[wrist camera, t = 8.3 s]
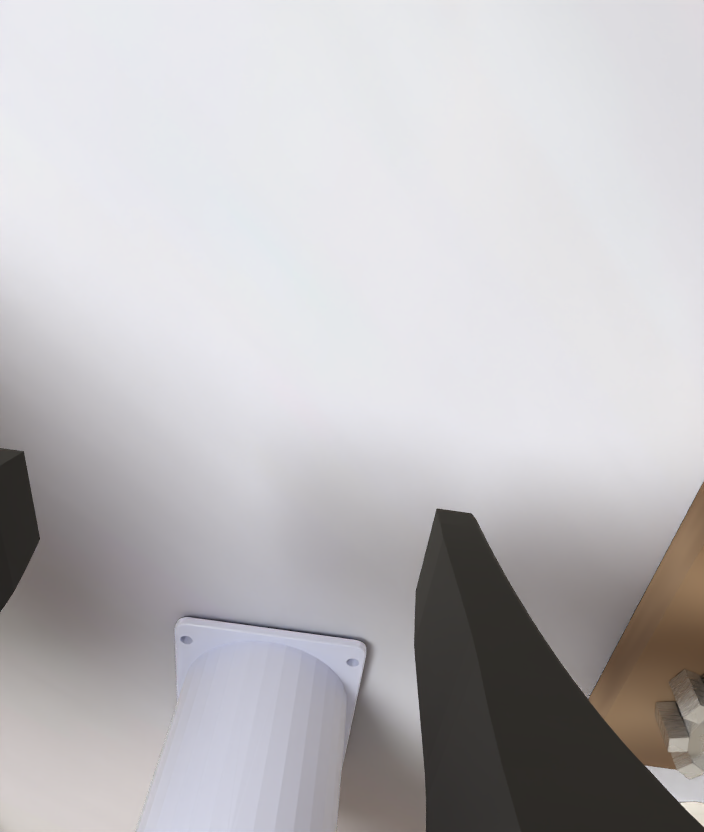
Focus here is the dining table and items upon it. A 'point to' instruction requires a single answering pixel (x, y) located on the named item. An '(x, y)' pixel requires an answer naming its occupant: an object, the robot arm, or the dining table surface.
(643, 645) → the gear board
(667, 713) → the gear
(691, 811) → the foam cup
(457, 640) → the robot arm
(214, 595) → the dining table surface
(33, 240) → the dining table surface
